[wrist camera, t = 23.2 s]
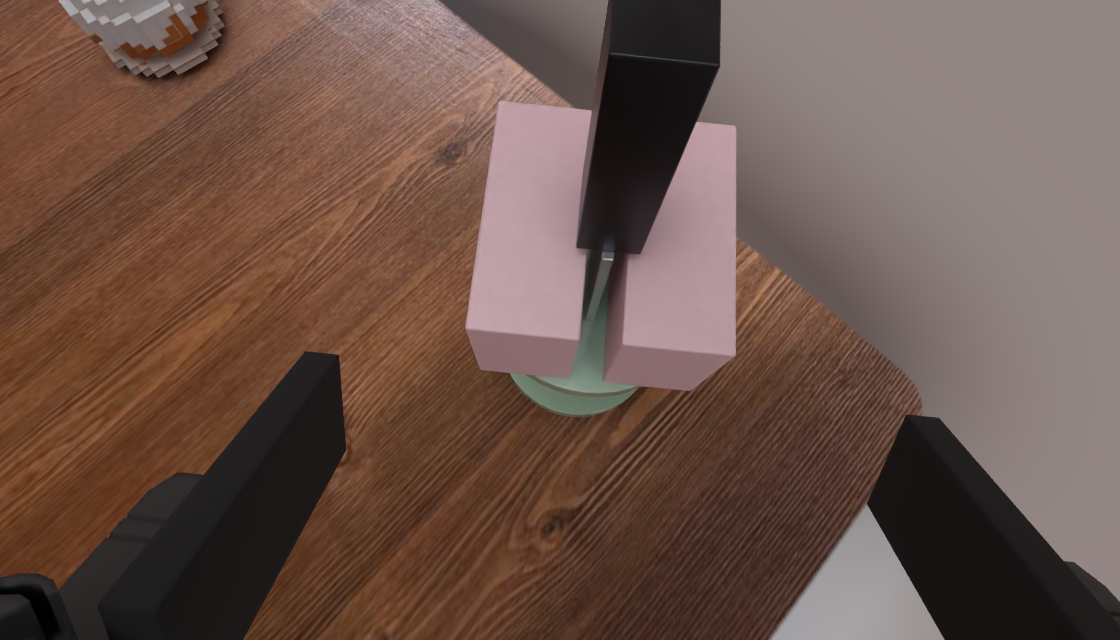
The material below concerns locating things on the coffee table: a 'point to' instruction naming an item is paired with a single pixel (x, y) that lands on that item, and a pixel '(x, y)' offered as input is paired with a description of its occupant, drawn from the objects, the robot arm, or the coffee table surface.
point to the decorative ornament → (150, 31)
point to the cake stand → (580, 372)
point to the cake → (635, 279)
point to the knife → (641, 122)
